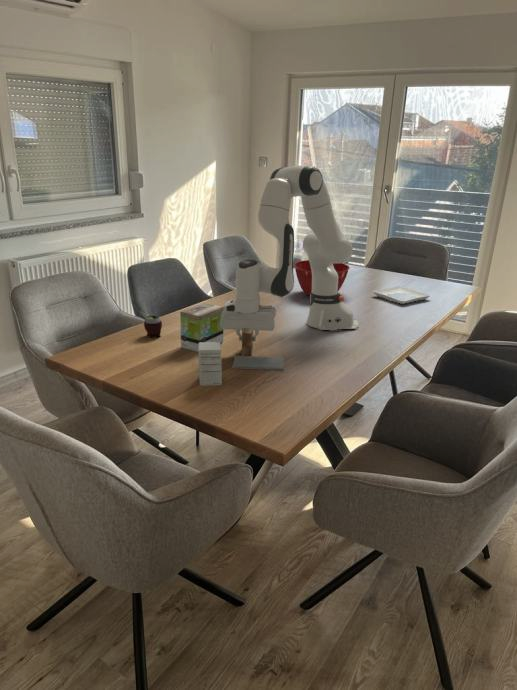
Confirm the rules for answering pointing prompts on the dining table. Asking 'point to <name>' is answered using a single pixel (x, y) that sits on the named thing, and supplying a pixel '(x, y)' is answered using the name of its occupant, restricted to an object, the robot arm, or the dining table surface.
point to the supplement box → (210, 363)
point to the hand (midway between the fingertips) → (247, 340)
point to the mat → (258, 363)
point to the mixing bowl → (306, 274)
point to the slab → (247, 342)
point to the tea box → (200, 325)
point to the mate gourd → (153, 324)
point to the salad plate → (400, 289)
